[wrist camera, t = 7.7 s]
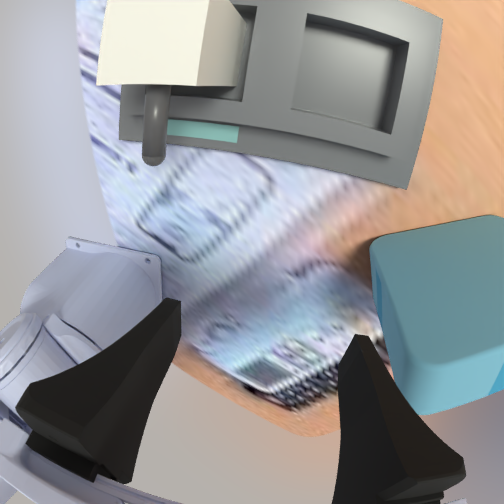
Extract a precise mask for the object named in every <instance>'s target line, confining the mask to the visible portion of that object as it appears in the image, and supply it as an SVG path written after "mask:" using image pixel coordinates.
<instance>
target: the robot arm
mask: <svg viewBox="0 0 504 504" xmlns="http://www.w3.org/2000/svg"><path fill="white" fill-rule="evenodd" d="M78 243H79V244H78ZM66 247H67V248H66V250H64V251H63V252H62V253H61V254H60V255H59V256H58V257H57V258H56V259H55V260H54V261H53V262H52V263H50V264H49V265H48V266H47V267H46V268H45V269H44V270H43V271H42V272H41V273H40V275H38V277H36V278H35V279H34V281H32V283H31V284H30V285H29V287H28V288H27V290H26V292H25V294H24V297H23V300H22V303H21V308H20V315H18V316H17V317H16V318H14V319H13V320H12V321H11V322H9V323H8V324H7V325H6V326H5V327H4V328H3V329H2V330H1V331H0V504H5V503H6V502H7V501H8V500H9V499H10V498H11V497H12V496H13V495H14V494H15V493H16V492H17V490H18V491H19V492H21V493H22V494H23V495H25V496H26V497H27V498H29V499H30V500H32V501H33V502H35V503H36V504H125V503H128V504H181V503H178V502H174V501H171V500H167V499H164V498H161V497H157V496H154V495H151V494H148V493H145V492H142V491H139V490H137V489H134V488H131V487H128V486H125V485H123V484H127V483H129V482H131V481H132V477H133V472H134V467H135V463H136V459H137V455H138V451H139V447H140V443H141V439H142V436H143V432H144V429H145V426H146V422H147V419H148V416H149V413H150V410H151V407H152V404H153V402H154V399H155V397H156V394H157V392H158V390H159V388H160V386H161V384H162V381H163V379H164V377H165V375H166V373H167V371H168V369H169V366H170V364H171V362H172V360H173V358H174V356H175V353H176V350H177V347H178V344H179V341H180V337H181V301H178V300H174V299H170V298H165V299H164V300H163V301H162V281H161V260H160V258H159V257H158V256H157V255H154V254H149V253H144V252H139V251H134V250H130V249H125V248H120V247H115V246H111V245H106V244H101V243H96V242H92V241H88V240H83V239H78V238H74V237H68V238H67V239H66ZM147 258H148V259H150V261H148V260H147ZM338 397H339V412H340V428H341V441H340V454H339V464H338V473H337V479H336V485H335V491H334V496H333V500H332V504H440V500H441V499H443V498H444V493H443V491H444V490H447V489H449V488H450V487H452V486H454V485H456V484H458V483H459V482H461V481H462V480H463V479H464V478H465V477H466V471H465V465H464V460H463V457H462V456H460V455H459V454H458V453H456V452H455V451H454V450H453V449H451V448H450V447H449V446H448V445H447V444H445V443H444V442H443V441H442V440H441V439H440V438H439V437H438V436H437V435H436V434H435V433H434V432H433V431H432V430H431V429H430V428H429V427H428V426H427V425H426V424H425V423H424V421H423V420H422V419H421V418H420V417H419V416H418V414H417V413H416V412H415V411H414V409H413V408H412V407H411V405H410V404H409V403H408V401H407V400H406V399H405V397H404V396H403V394H402V393H401V391H400V390H399V388H398V387H397V385H396V383H395V382H394V380H393V379H392V377H391V375H390V373H389V372H388V370H387V368H386V367H385V365H384V363H383V361H382V359H381V358H380V356H379V354H378V352H377V350H376V349H375V347H374V345H373V343H372V341H371V340H370V338H369V336H365V335H358V334H355V335H354V337H353V339H352V341H351V343H350V345H349V347H348V349H347V350H346V352H345V354H344V356H343V358H342V360H341V361H340V363H339V369H338ZM113 480H114V481H113ZM118 482H119V483H118ZM121 483H122V484H121ZM124 502H125V503H124ZM445 504H467V500H466V498H463V499H459V500H455V501H452V502H448V503H445Z"/></svg>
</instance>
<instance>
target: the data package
mask: <svg viewBox="0 0 504 504" xmlns="http://www.w3.org/2000/svg"><path fill="white" fill-rule="evenodd" d="M369 252H370V263H371V275H372V290H373V299H374V303H375V306H376V310H377V313H378V317H379V320H380V324H381V327H382V331H383V335H384V339H385V343H386V347H387V350H388V355H389V359H390V363H391V367H392V371H393V376H394V380H395V383H396V385H397V387H398V388H399V390H400V391H401V393H402V394H403V396H404V397H405V399H406V400H407V401H408V403H409V404H410V405H411V407H412V408H413V409H414V411H415V412H416V413H417V414H418V415H429V414H433V413H437V412H441V411H444V410H447V409H451V408H454V407H457V406H460V405H463V404H466V403H469V402H472V401H474V400H477V399H480V398H482V397H485V396H487V395H490V394H493V393H495V392H498V391H500V390H503V389H504V218H502V217H499V216H494V215H486V216H480V217H475V218H470V219H465V220H460V221H455V222H450V223H445V224H440V225H435V226H430V227H424V228H419V229H414V230H409V231H404V232H399V233H393V234H388V235H384V236H381V237H379V238H377V239H376V240H374V241H373V242H372V244H371V245H370V249H369Z"/></svg>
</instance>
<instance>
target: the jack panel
mask: <svg viewBox="0 0 504 504" xmlns="http://www.w3.org/2000/svg"><path fill="white" fill-rule="evenodd" d="M229 1H230V2H231V3H232V5H233V6H234V7H235V9H236V10H237V11H238V13H239V14H240V15H241V17H242V18H243V19H244V21H245V22H246V24H247V25H246V31H245V37H244V43H243V49H242V56H241V62H240V68H239V75H238V82H237V86H189V85H171V94H170V104H169V115H168V127H167V141H166V144H176V145H185V146H194V147H202V148H210V149H217V150H224V151H231V152H238V153H244V154H250V155H256V156H262V157H268V158H273V159H279V160H284V161H289V162H295V163H300V164H304V165H309V166H314V167H319V168H323V169H328V170H332V171H336V172H341V173H345V174H349V175H353V176H357V177H361V178H365V179H369V180H373V181H377V182H380V183H384V184H388V185H391V186H395V187H398V188H402V189H405V190H407V187H408V184H409V180H410V177H411V174H412V170H413V167H414V164H415V160H416V157H417V153H418V149H419V146H420V142H421V138H422V134H423V130H424V126H425V122H426V118H427V113H428V109H429V104H430V100H431V95H432V90H433V85H434V79H435V74H436V68H437V62H438V56H439V49H440V41H441V33H442V24H443V19H442V18H439V17H437V16H435V15H433V14H431V13H429V12H426V11H424V10H422V9H419V8H417V7H415V6H412V5H410V4H407V3H405V2H402V1H399V0H229ZM145 94H146V84H122V87H121V101H120V120H119V140H130V141H143V122H144V107H145Z"/></svg>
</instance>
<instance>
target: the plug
mask: <svg viewBox="0 0 504 504" xmlns="http://www.w3.org/2000/svg"><path fill="white" fill-rule="evenodd" d="M246 25H247V24H246V22H245V21H244V19H243V18H242V17H241V15H240V14H239V13H238V11H237V10H236V9H235V7H234V6H233V5H232V3H231V2H230V1H229V0H108V1H107V6H106V11H105V17H104V23H103V29H102V36H101V44H100V52H99V61H98V71H97V83H96V85H118V84H146V94H145V107H144V122H143V141H142V158H143V161H144V162H145V163H146V164H147V165H149V166H157V165H159V164H161V163H162V162H163V161H164V159H165V156H166V141H167V127H168V115H169V104H170V94H171V85H189V86H237V82H238V75H239V68H240V62H241V56H242V49H243V43H244V37H245V31H246Z"/></svg>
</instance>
